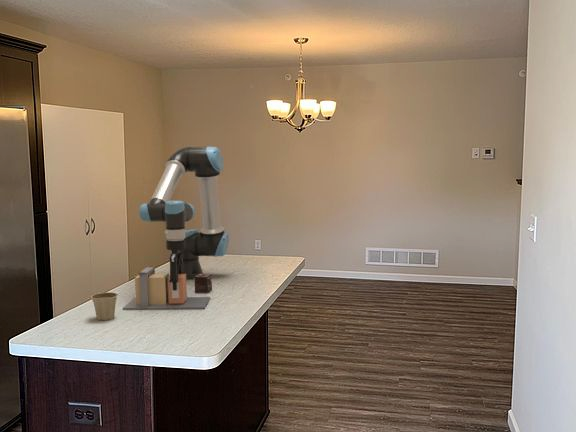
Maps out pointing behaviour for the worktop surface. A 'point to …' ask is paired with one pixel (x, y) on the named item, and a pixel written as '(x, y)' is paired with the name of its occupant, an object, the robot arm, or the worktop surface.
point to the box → (203, 283)
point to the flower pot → (104, 305)
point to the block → (182, 290)
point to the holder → (158, 294)
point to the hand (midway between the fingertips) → (177, 295)
